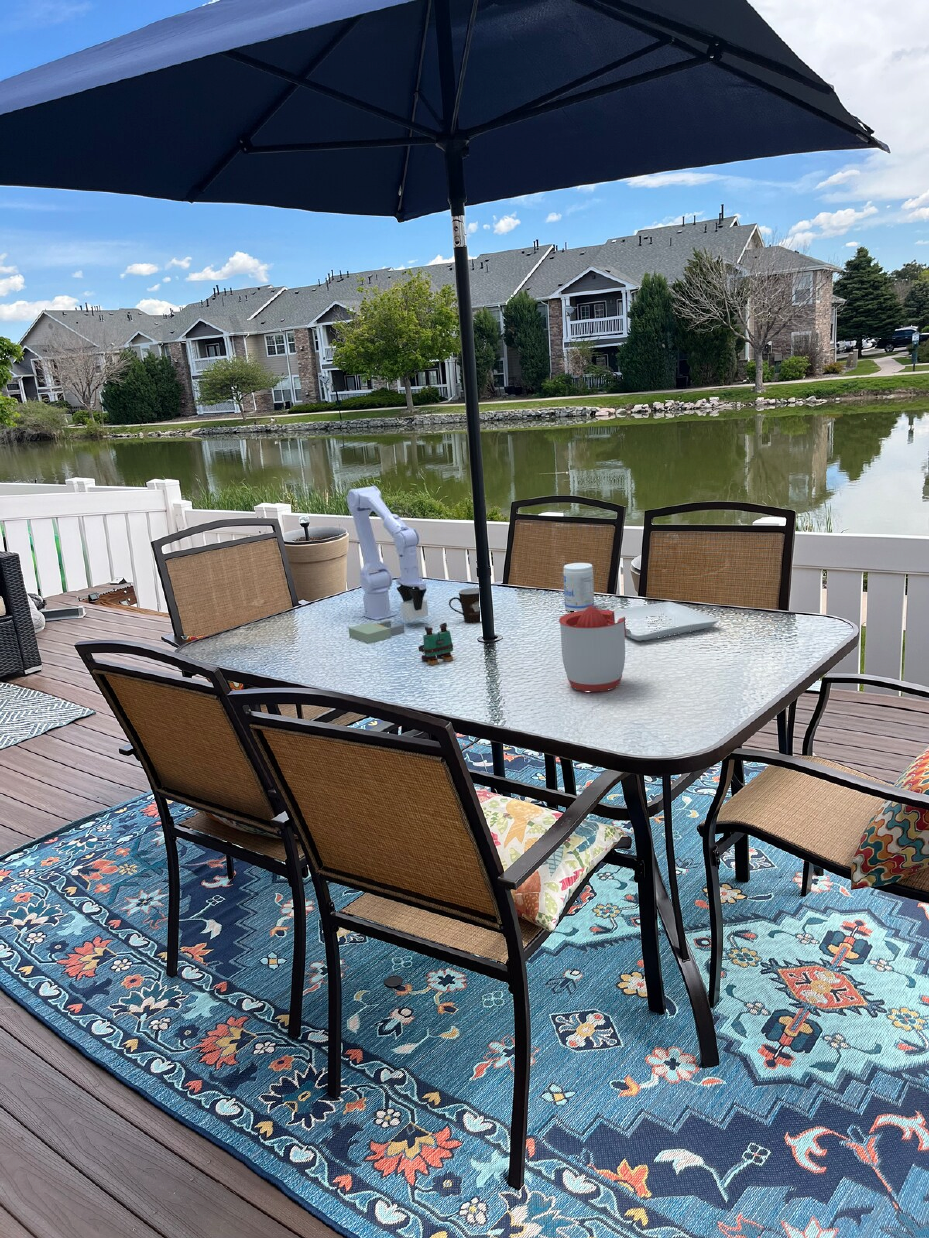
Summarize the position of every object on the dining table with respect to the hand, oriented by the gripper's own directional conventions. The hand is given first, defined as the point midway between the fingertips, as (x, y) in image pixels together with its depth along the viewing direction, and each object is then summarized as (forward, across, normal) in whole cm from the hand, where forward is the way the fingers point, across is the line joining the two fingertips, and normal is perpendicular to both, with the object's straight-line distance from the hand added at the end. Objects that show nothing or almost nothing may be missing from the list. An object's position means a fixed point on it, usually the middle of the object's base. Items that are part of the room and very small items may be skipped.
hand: (413, 608), depth 269 cm
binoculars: (+6, -36, +17) cm, 40 cm away
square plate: (+6, -63, -43) cm, 77 cm away
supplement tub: (+6, -30, -45) cm, 54 cm away
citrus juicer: (+6, -85, +3) cm, 85 cm away
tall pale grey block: (+3, 0, 0) cm, 3 cm away
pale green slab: (+6, 0, +14) cm, 15 cm away
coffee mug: (+6, -11, -14) cm, 19 cm away
